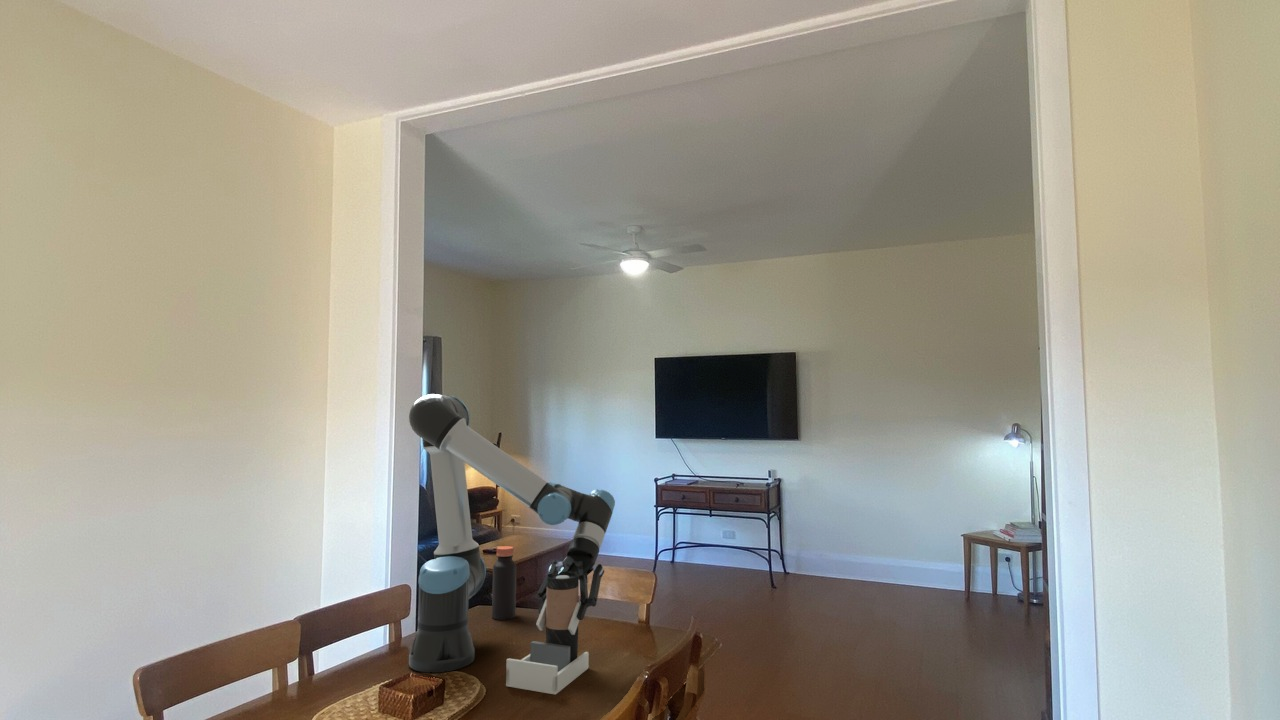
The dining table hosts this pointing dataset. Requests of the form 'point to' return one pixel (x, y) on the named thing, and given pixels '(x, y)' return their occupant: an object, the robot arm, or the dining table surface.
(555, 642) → the travel mug
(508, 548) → the bottle
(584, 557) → the robot arm
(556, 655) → the block
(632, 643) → the dining table surface
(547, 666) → the white open box
